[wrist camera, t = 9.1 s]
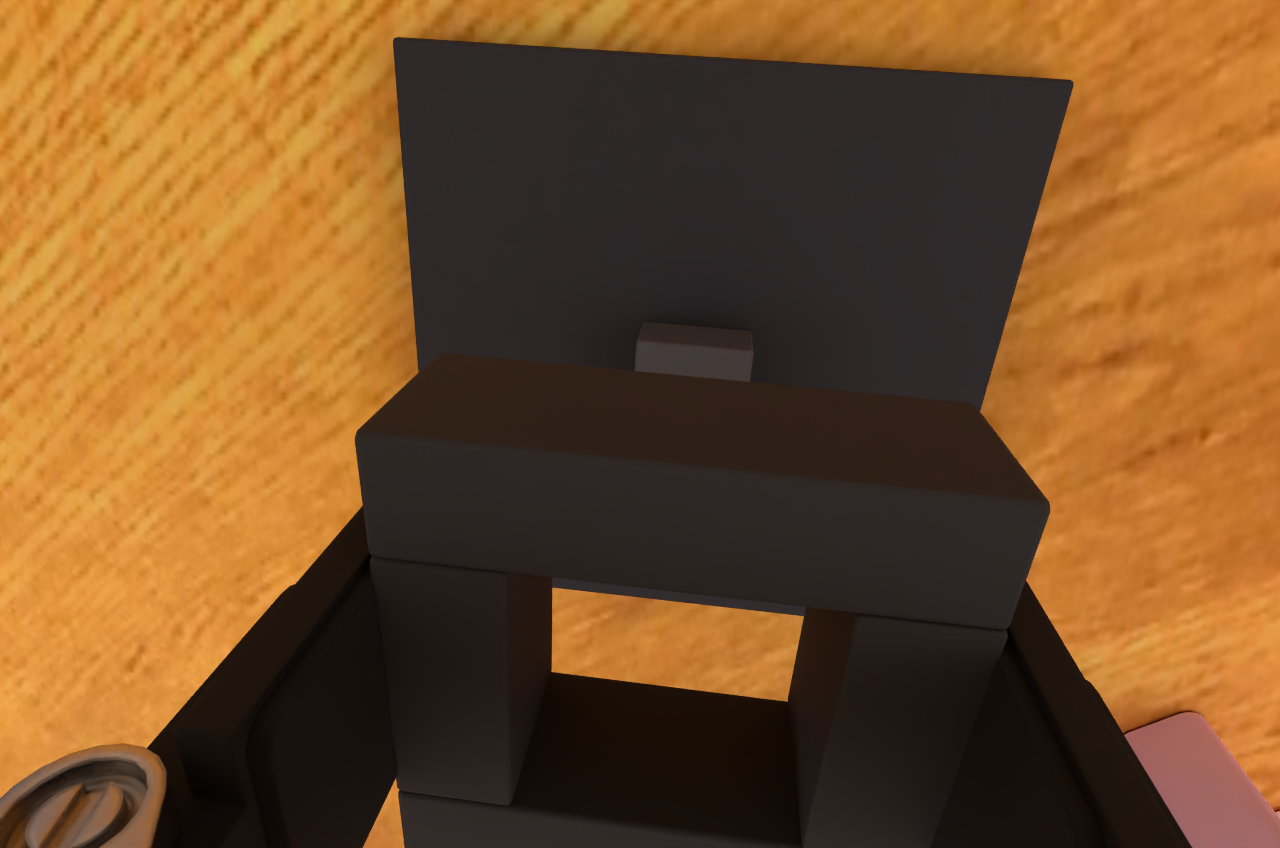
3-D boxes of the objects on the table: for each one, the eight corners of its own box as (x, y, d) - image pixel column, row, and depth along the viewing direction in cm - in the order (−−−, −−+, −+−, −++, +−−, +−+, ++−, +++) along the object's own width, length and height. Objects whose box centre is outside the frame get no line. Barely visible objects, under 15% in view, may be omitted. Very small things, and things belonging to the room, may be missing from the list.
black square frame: (462, 727, 12) (404, 868, 10) (438, 349, 9) (349, 432, 7) (868, 781, 12) (900, 941, 9) (975, 400, 9) (1058, 505, 7)
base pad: (447, 551, 22) (413, 608, 20) (412, 39, 16) (358, 32, 14) (908, 602, 22) (932, 669, 19) (1052, 80, 15) (1113, 80, 13)
